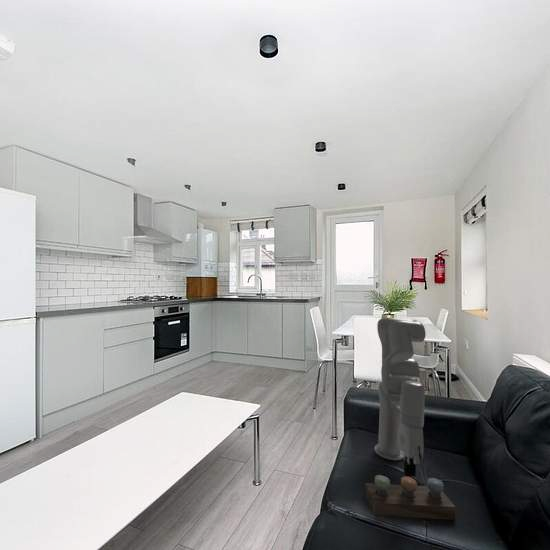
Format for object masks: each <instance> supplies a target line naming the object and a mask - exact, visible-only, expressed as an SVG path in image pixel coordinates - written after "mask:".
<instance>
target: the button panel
mask: <svg viewBox="0 0 550 550" xmlns="http://www.w3.org/2000/svg"><path fill="white" fill-rule="evenodd" d="M364 486H365V487H364V497H365V498H366V501H367V503H368V505H369V507H370V509H371V512H372V513H373V515H374V516H377V517H393V518H395V517H397V518H411V519H413V518H415V519H435V520H436V519H437V520H451V521H452V520H456V506H455V504H454V503H453V502H452V501H451V500H450V498H449V497H448V496H447V495H446V494H445V492H444V491H443V492H442V493H441V495H440V499H432V498H431V496H430V489H429V488H428V487H427V485H426V486H425V485H417V489H416V491H414V498H405V496H404V495H403V488H402V486H401V484H390V488H389V489H388V490H387V497H382V496H378V494H377V487H376V486H375V483H365V485H364Z"/></svg>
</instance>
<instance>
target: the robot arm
mask: <svg viewBox="0 0 550 550" xmlns="http://www.w3.org/2000/svg"><path fill="white" fill-rule="evenodd" d="M376 325H377V327H376V328H377V334H378V338H379V341H380V345H381V371H380V373H381V374H380V375H381V382H380V383H379V385H378V397H379V398H378V399H379V414H378V415H379V419H378V440H377V441H378V443H377V444H376V445H374V448H373V449H374V452H375V454H376V455H378V456H379V457H381V458H383V459H386V460H389V461H401V460H403V461H404V462H403V463H404V464H403V474H404V475H405V477H410V478H414V477H416V470H417V467H416V466H417V465H418V466H419V465H420V460H422V459H423V457H424V431H423V428H424V426H425V425H424V424H425V398H426V397H425V395H426V394H425V393H426V387H425V384H424V382H423V380H422V378H421V372H420V364H419V363H418V361H417V360H416V359H414V358H413V357H414V353H415V352H414V348H413V343H422V342H424V341H425V339H426V335H427V334H426V329H425V326H424V325H423V323H422V322H421V321H418V320H416V319H412V318H411V319H410V318H409V319H408V318H397V317H382V318H380V319H379V320H378V321H377V324H376ZM397 405H399V407H398V406H397Z"/></svg>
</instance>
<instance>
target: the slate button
mask: <svg viewBox="0 0 550 550" xmlns="http://www.w3.org/2000/svg"><path fill="white" fill-rule="evenodd" d="M426 483H427V485H426V486H427V487H428V488H429V489H430V496H431V498H432V499H440V495H441V493H442V492H443V493H444V482H443V481H441V479H438V478H435V477H428V479H427V482H426Z"/></svg>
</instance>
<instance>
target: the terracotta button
mask: <svg viewBox="0 0 550 550" xmlns="http://www.w3.org/2000/svg"><path fill="white" fill-rule="evenodd" d="M400 479H401V480H400V485H401V486H402V488H403V495H404V496H405V498H414V491H416V489H417V486H418V483H417V481H416V479H414V477H411V476H402V477H401V478H400Z"/></svg>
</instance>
